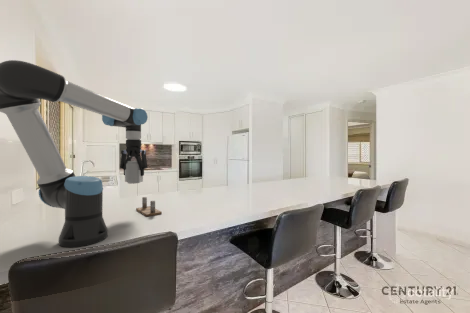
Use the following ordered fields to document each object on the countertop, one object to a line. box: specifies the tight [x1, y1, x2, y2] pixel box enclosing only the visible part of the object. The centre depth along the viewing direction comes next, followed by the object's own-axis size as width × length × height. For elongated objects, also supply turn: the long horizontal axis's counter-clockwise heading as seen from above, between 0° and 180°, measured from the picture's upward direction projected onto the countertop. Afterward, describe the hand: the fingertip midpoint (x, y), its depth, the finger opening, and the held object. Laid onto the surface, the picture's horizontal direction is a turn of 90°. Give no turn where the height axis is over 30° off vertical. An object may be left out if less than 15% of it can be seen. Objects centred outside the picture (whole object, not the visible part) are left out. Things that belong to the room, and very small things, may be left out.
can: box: [125, 160, 141, 185], centre depth 117 cm, size 8×8×12 cm
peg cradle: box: [135, 196, 162, 218], centre depth 120 cm, size 17×8×7 cm, turn 41°
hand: (133, 181), depth 117 cm, fingers closed on can, 7 cm apart
